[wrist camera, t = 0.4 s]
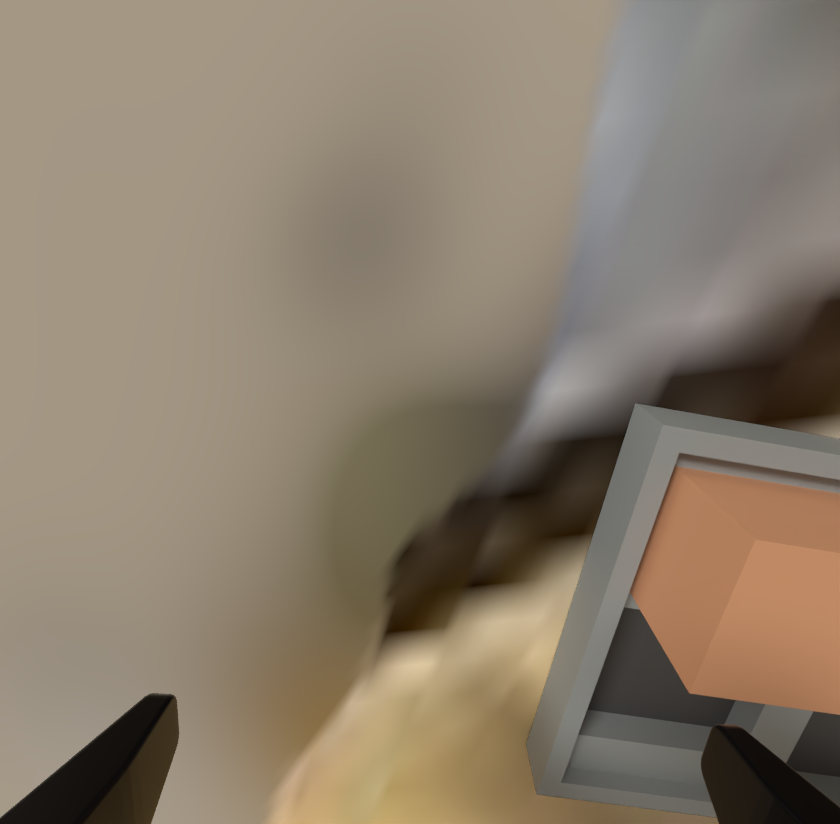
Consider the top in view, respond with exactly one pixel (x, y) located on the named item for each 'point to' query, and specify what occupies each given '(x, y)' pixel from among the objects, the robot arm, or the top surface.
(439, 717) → the top surface
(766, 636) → the block
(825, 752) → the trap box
